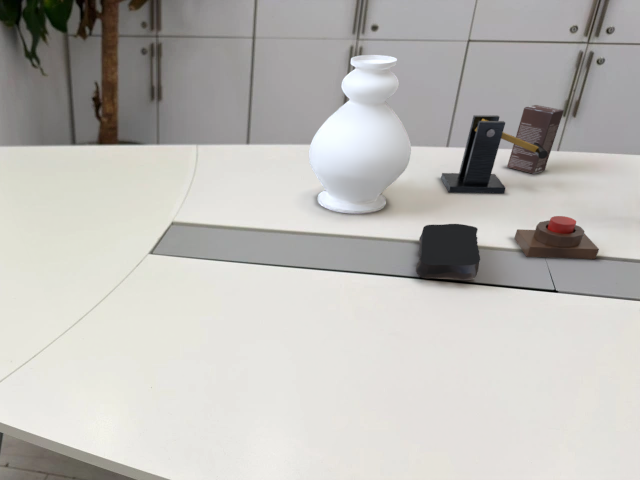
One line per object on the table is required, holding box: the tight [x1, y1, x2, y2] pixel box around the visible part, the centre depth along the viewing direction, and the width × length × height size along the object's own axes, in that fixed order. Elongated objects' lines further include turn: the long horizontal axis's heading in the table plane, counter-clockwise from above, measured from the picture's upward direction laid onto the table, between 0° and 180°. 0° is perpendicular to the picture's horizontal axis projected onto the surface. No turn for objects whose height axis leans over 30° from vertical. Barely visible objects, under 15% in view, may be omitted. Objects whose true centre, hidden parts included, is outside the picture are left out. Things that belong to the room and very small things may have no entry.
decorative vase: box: [308, 54, 412, 215], centre depth 122 cm, size 18×18×25 cm
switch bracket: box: [440, 114, 506, 195], centre depth 129 cm, size 10×8×13 cm
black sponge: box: [415, 223, 481, 281], centre depth 105 cm, size 16×8×4 cm, turn 159°
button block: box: [514, 220, 600, 260], centre depth 108 cm, size 10×7×4 cm
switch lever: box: [475, 119, 548, 159], centre depth 127 cm, size 13×5×2 cm, turn 81°
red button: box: [547, 215, 577, 234], centre depth 107 cm, size 4×4×2 cm
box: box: [507, 104, 565, 175], centre depth 136 cm, size 6×4×12 cm
